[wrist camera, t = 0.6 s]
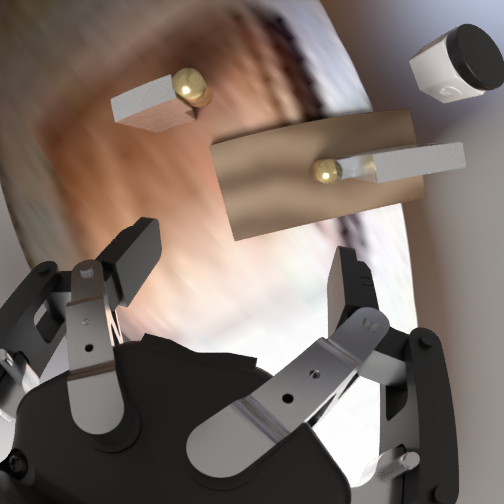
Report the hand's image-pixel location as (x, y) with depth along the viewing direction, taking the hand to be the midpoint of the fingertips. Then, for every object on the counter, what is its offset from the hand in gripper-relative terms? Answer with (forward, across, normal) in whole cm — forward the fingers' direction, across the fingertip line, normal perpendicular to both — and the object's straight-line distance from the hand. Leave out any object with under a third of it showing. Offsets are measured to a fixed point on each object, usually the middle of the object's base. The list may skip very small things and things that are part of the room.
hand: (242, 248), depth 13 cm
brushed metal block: (+25, +12, -2) cm, 27 cm away
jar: (+32, -20, -12) cm, 40 cm away
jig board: (+25, -6, +4) cm, 26 cm away
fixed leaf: (+25, -10, +2) cm, 27 cm away
